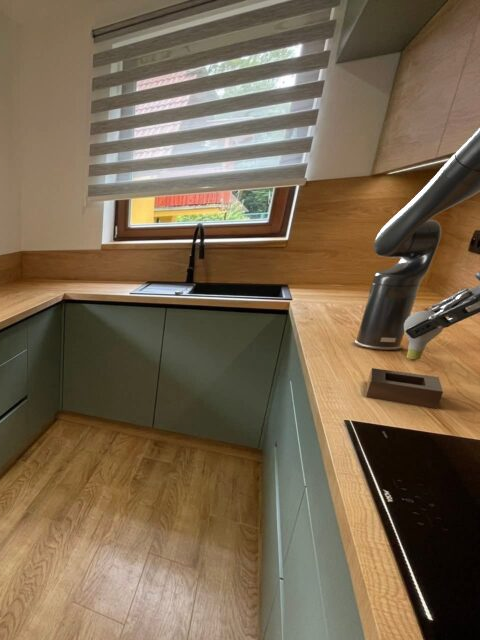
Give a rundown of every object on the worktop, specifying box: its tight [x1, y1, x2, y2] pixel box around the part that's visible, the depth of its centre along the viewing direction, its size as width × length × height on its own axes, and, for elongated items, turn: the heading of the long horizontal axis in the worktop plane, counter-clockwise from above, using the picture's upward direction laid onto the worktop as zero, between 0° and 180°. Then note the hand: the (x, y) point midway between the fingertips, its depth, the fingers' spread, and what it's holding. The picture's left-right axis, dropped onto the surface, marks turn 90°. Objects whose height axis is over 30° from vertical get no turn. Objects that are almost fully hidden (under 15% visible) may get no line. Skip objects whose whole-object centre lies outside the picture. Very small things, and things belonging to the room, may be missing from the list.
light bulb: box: [404, 310, 445, 362], centre depth 84 cm, size 6×5×10 cm
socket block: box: [365, 367, 444, 409], centre depth 88 cm, size 10×10×4 cm
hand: (408, 331), depth 85 cm, fingers closed on light bulb, 5 cm apart
